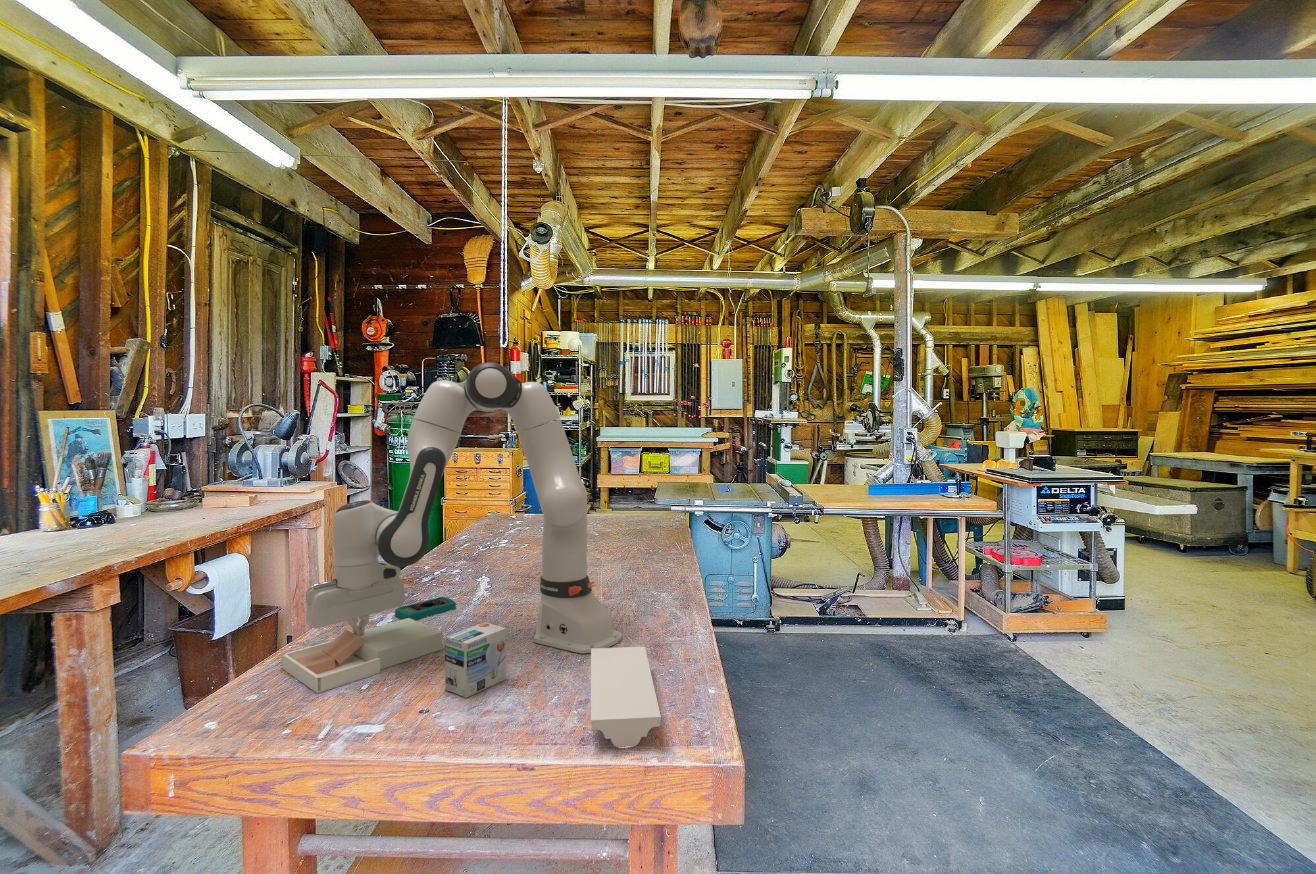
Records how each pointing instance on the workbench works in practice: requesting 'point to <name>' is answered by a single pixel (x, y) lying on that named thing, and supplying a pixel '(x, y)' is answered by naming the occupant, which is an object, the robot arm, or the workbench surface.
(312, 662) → the tile
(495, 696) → the workbench surface
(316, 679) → the tray
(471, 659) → the light bulb box
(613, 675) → the beige molded block
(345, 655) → the tile
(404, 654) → the board
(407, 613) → the digital multimeter
